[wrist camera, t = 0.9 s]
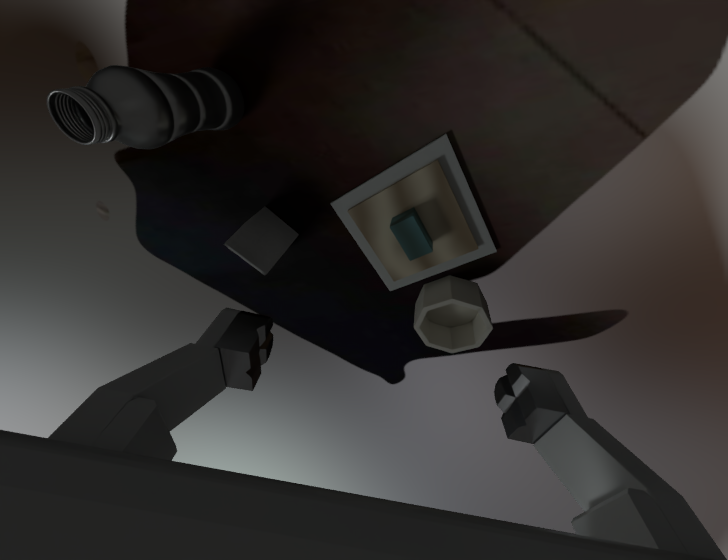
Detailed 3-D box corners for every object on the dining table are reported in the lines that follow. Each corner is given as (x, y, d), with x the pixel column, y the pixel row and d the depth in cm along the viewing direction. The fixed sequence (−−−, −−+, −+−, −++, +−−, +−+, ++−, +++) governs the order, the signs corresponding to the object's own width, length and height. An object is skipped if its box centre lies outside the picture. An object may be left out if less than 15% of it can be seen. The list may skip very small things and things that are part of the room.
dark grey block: (265, 206, 45) (229, 235, 37) (299, 234, 47) (272, 267, 39) (255, 221, 47) (219, 251, 39) (287, 247, 49) (260, 281, 41)
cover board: (437, 158, 35) (438, 166, 32) (478, 246, 41) (481, 259, 38) (348, 209, 42) (342, 219, 39) (394, 278, 47) (392, 292, 44)
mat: (446, 133, 34) (446, 134, 34) (496, 249, 42) (496, 251, 41) (331, 202, 42) (330, 203, 42) (390, 289, 50) (390, 291, 49)
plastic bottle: (192, 86, 36) (10, 97, 21) (227, 54, 34) (47, 39, 18) (226, 136, 39) (89, 178, 24) (261, 110, 37) (131, 140, 21)
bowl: (469, 268, 44) (474, 291, 39) (493, 315, 49) (499, 342, 44) (407, 290, 49) (404, 313, 44) (434, 332, 54) (434, 357, 49)
